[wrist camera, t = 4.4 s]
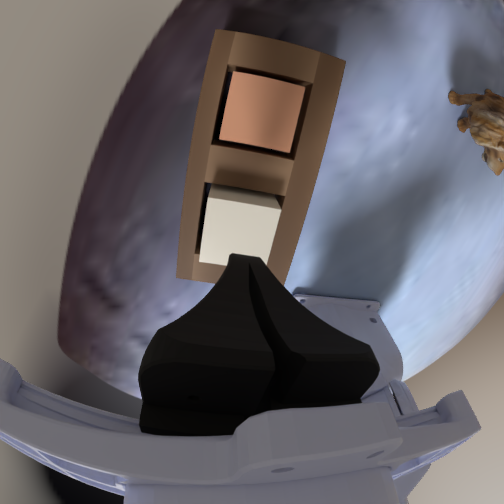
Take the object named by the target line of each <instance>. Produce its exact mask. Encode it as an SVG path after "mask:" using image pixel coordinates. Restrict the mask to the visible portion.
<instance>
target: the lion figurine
mask: <svg viewBox="0 0 504 504" xmlns="http://www.w3.org/2000/svg"><path fill="white" fill-rule="evenodd" d="M448 98H449V101H450V103H451V104H456V105H458V106H460V105H464V104H469V105H472V106H470V107H469V108H468V110H467V113H468V118H467V117H464V118H462V119H459V120H458V122H457V127H458V128H459V130H460V131H461V132H463V133H464V132H465V131H466V129H467V128H470V133H471V136H472V137H473V139H474V141H475V143H476V144H478V145H481V146H484V153H483V154H482V159H483V161H485V162H487V165H488V167H489V168H490V169H491V170H492V171H494V173H495V174H496V175H497V176H498V175H500V173H501V172H502V170H503V169H504V98H503V97H501V96H499V95H497V94H494V93H493V92H491V90H489V89H486V90H485V94H484V95H480V94H464V95H460V94H457V93H456V92H454V91H450V93H449V95H448Z"/></svg>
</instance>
